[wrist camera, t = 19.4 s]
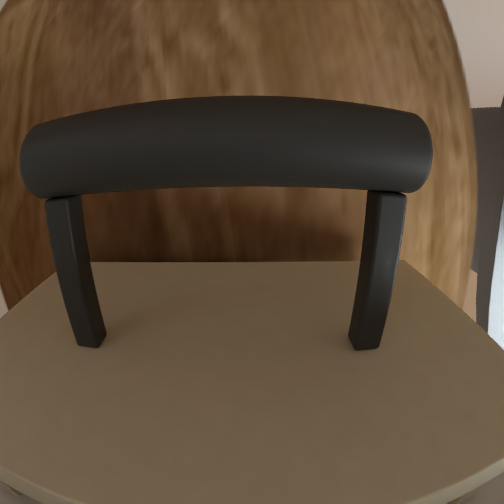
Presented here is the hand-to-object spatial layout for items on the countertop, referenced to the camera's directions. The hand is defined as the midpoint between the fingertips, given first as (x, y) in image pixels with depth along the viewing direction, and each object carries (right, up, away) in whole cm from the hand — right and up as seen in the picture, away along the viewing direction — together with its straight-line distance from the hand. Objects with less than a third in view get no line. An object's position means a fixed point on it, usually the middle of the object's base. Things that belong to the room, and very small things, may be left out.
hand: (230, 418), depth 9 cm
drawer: (0, +1, +3) cm, 3 cm away
